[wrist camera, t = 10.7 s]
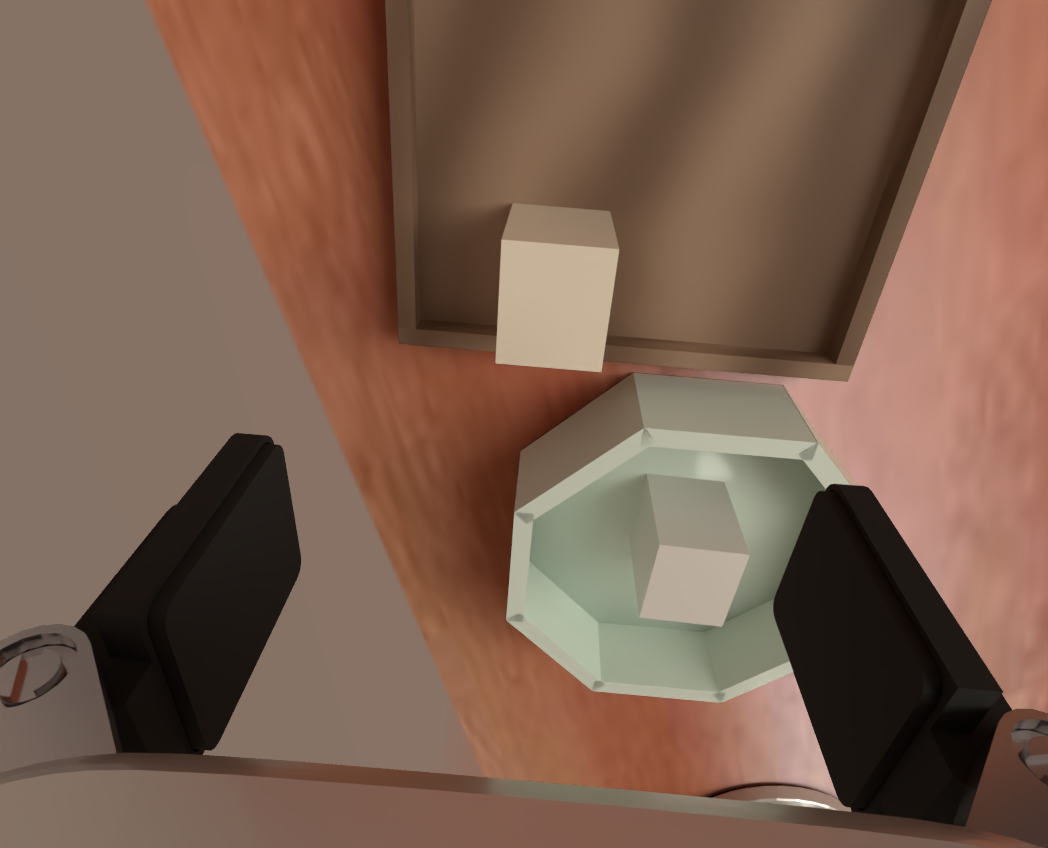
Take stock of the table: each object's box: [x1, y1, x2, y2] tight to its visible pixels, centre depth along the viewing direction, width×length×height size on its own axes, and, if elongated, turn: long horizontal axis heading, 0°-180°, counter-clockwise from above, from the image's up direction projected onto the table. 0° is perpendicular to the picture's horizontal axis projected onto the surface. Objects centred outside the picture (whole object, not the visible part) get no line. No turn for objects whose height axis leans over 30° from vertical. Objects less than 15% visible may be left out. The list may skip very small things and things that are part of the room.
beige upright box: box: [496, 203, 619, 372], centre depth 23 cm, size 4×4×5 cm
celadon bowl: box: [506, 372, 858, 703], centre depth 30 cm, size 16×16×4 cm
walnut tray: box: [385, 0, 992, 382], centre depth 23 cm, size 18×14×2 cm
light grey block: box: [630, 473, 750, 627], centre depth 28 cm, size 4×4×5 cm
